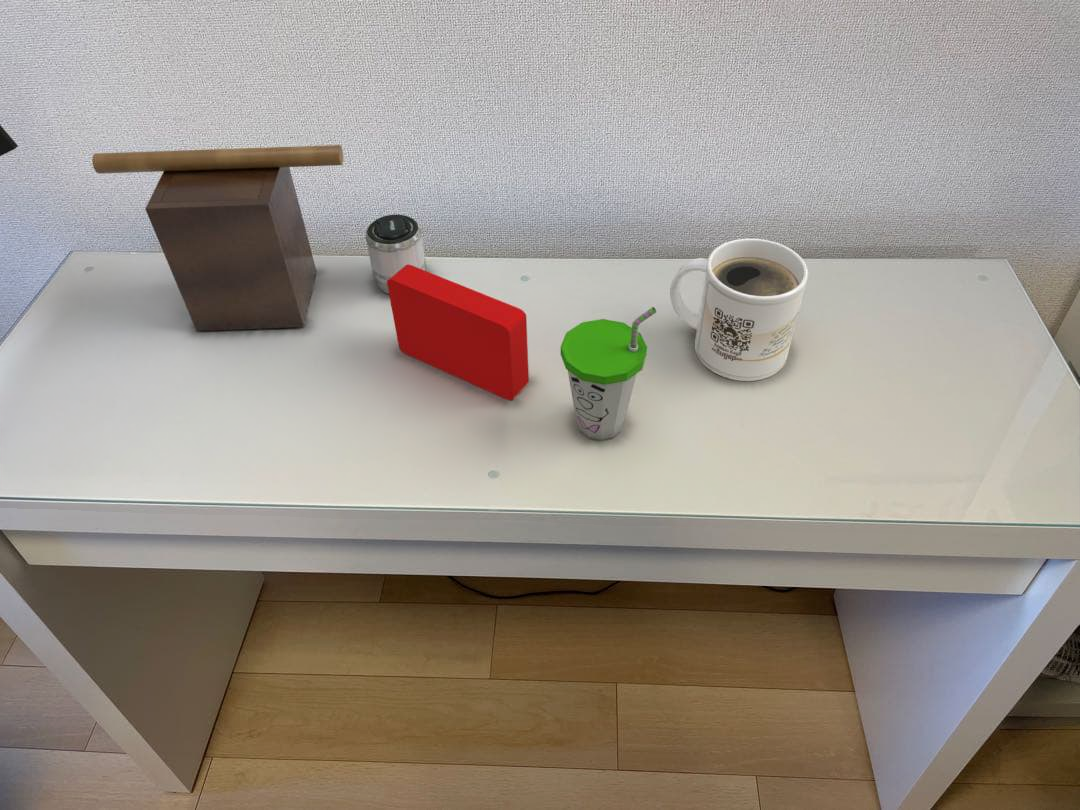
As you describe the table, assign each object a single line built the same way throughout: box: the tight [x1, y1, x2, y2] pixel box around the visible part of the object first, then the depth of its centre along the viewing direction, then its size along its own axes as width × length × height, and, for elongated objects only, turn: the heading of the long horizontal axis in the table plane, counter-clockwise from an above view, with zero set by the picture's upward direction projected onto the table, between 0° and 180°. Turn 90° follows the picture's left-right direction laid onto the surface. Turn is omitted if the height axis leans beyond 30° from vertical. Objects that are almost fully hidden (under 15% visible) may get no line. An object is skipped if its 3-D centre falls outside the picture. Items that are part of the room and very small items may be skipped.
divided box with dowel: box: [91, 144, 344, 332], centre depth 92 cm, size 18×25×10 cm
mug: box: [669, 237, 809, 382], centre depth 88 cm, size 10×12×11 cm
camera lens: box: [364, 214, 427, 295], centre depth 98 cm, size 6×6×8 cm
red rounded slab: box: [387, 265, 530, 401], centre depth 87 cm, size 15×3×10 cm, turn 58°
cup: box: [560, 306, 657, 442], centre depth 79 cm, size 8×8×15 cm
